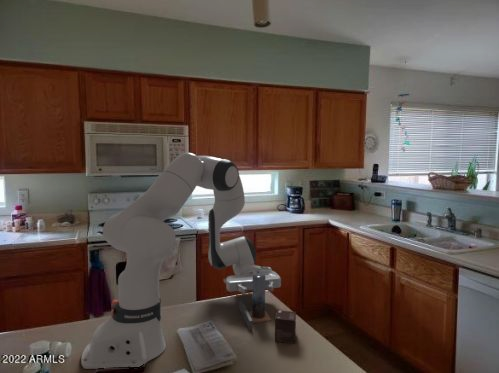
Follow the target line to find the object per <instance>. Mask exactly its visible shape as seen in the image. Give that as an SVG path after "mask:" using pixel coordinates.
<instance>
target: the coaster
mask: <svg viewBox="0 0 499 373" xmlns="http://www.w3.org/2000/svg"><path fill="white" fill-rule="evenodd" d="M248 313H249V315H250V316H251V318H252V320H253V323H262V322H272V319H271V317H270V315H269V314H268V312H267V311H266V309H265V317H264V318H254V317H253V316H252V311H248Z"/></svg>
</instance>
